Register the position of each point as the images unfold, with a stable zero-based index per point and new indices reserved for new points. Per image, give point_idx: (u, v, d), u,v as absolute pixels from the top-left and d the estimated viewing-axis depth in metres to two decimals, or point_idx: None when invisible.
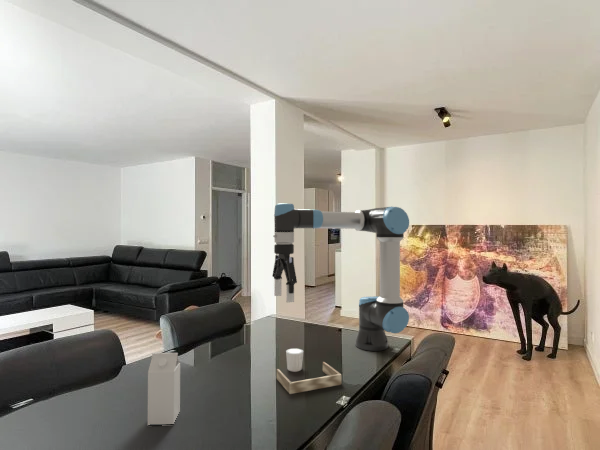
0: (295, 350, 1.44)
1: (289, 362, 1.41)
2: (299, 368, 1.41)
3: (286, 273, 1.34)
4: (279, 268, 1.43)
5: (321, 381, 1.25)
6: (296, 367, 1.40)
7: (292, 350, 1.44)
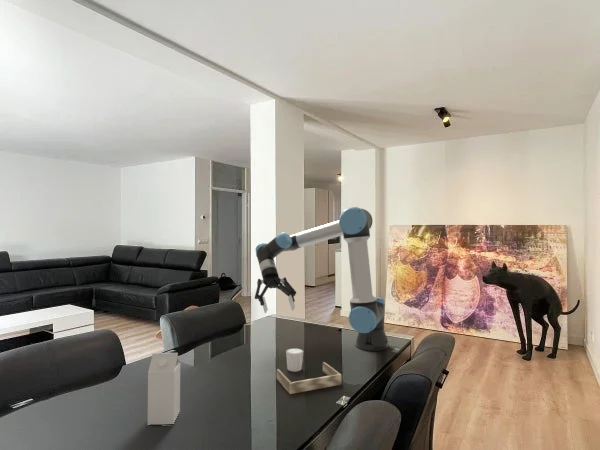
0: (295, 350, 1.44)
1: (289, 362, 1.41)
2: (299, 368, 1.41)
3: None
4: (280, 288, 1.68)
5: (321, 381, 1.25)
6: (296, 367, 1.40)
7: (292, 350, 1.44)
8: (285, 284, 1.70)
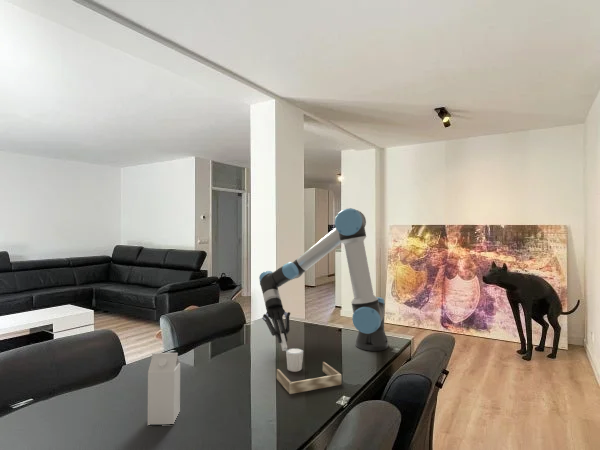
0: (295, 350, 1.44)
1: (289, 362, 1.41)
2: (299, 368, 1.41)
3: (274, 327, 1.59)
4: (279, 322, 1.61)
5: (321, 381, 1.25)
6: (296, 367, 1.40)
7: (292, 350, 1.44)
8: (286, 319, 1.62)
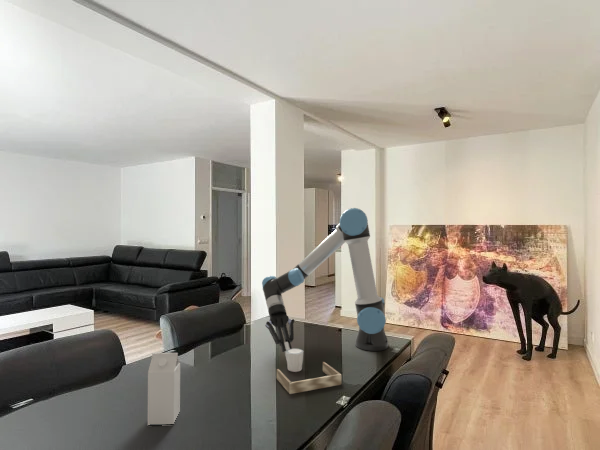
0: (295, 350, 1.43)
1: (289, 362, 1.40)
2: (299, 368, 1.41)
3: (278, 335, 1.53)
4: (282, 329, 1.55)
5: (321, 381, 1.25)
6: (296, 367, 1.40)
7: (292, 350, 1.43)
8: (290, 326, 1.56)
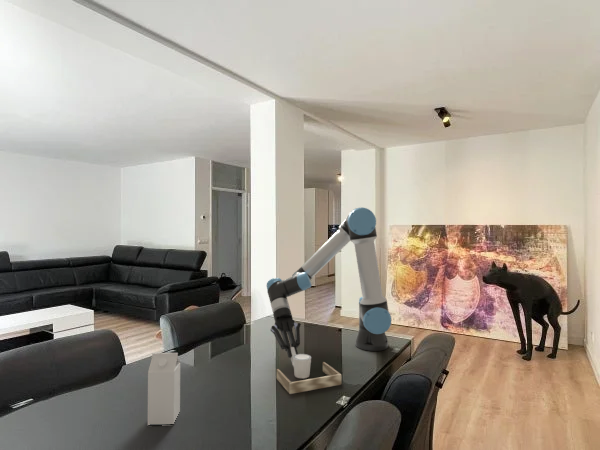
0: (302, 356, 1.37)
1: (297, 369, 1.34)
2: (307, 375, 1.34)
3: None
4: (288, 334, 1.48)
5: (321, 381, 1.25)
6: (304, 374, 1.34)
7: (299, 356, 1.37)
8: (296, 330, 1.50)
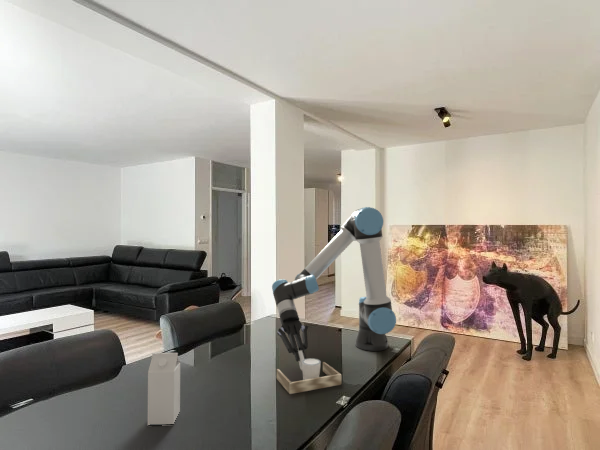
0: (311, 360, 1.32)
1: (307, 374, 1.29)
2: None
3: (290, 343, 1.41)
4: (295, 337, 1.43)
5: (321, 381, 1.25)
6: None
7: (308, 361, 1.32)
8: (303, 333, 1.45)
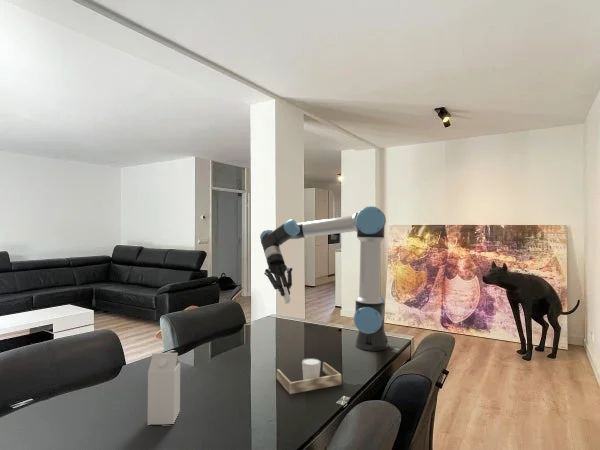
0: (311, 361, 1.32)
1: (307, 374, 1.29)
2: None
3: (276, 282, 1.57)
4: (281, 277, 1.59)
5: (321, 381, 1.25)
6: None
7: (308, 361, 1.32)
8: (288, 274, 1.61)
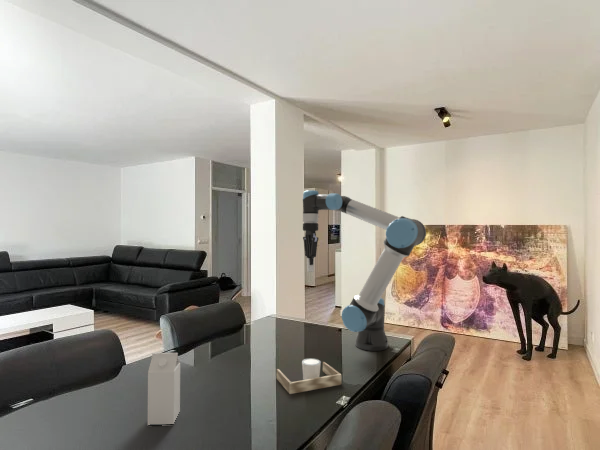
0: (311, 361, 1.32)
1: (307, 374, 1.29)
2: None
3: None
4: None
5: (321, 381, 1.25)
6: None
7: (308, 361, 1.32)
8: None
